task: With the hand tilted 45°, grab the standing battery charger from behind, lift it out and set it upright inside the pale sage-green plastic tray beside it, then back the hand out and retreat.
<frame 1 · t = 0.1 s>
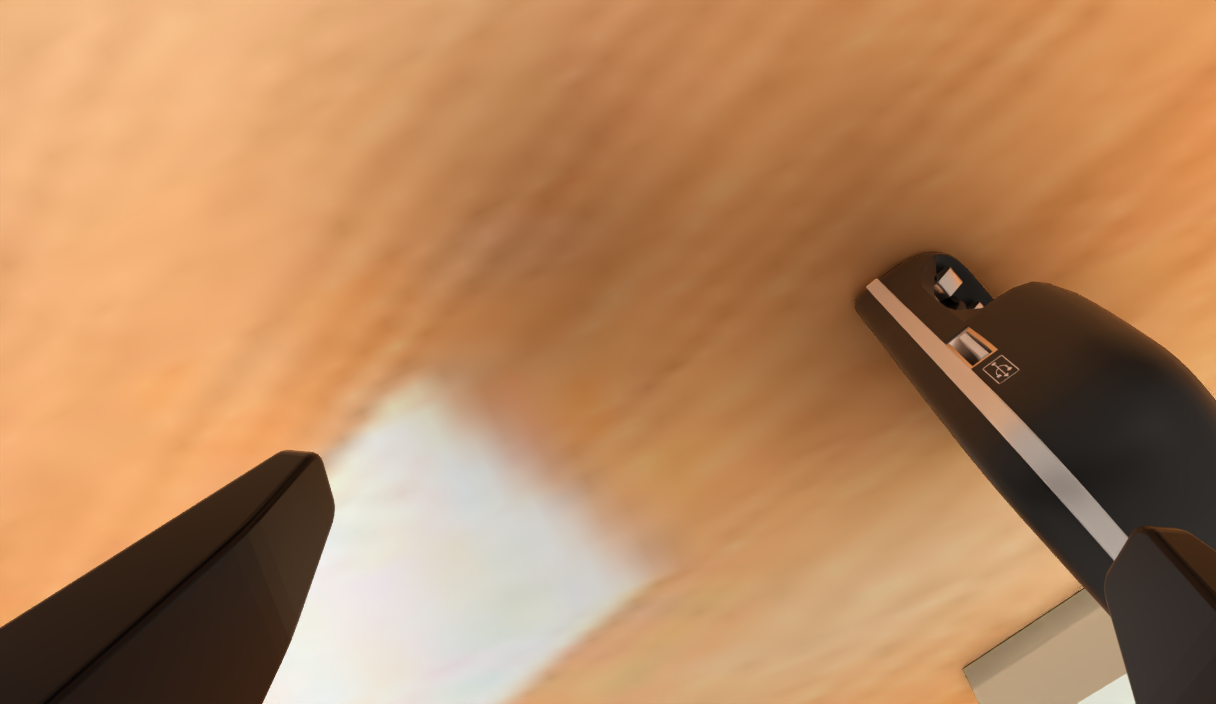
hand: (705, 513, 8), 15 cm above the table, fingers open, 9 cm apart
battery charger: (960, 332, 23), on the table
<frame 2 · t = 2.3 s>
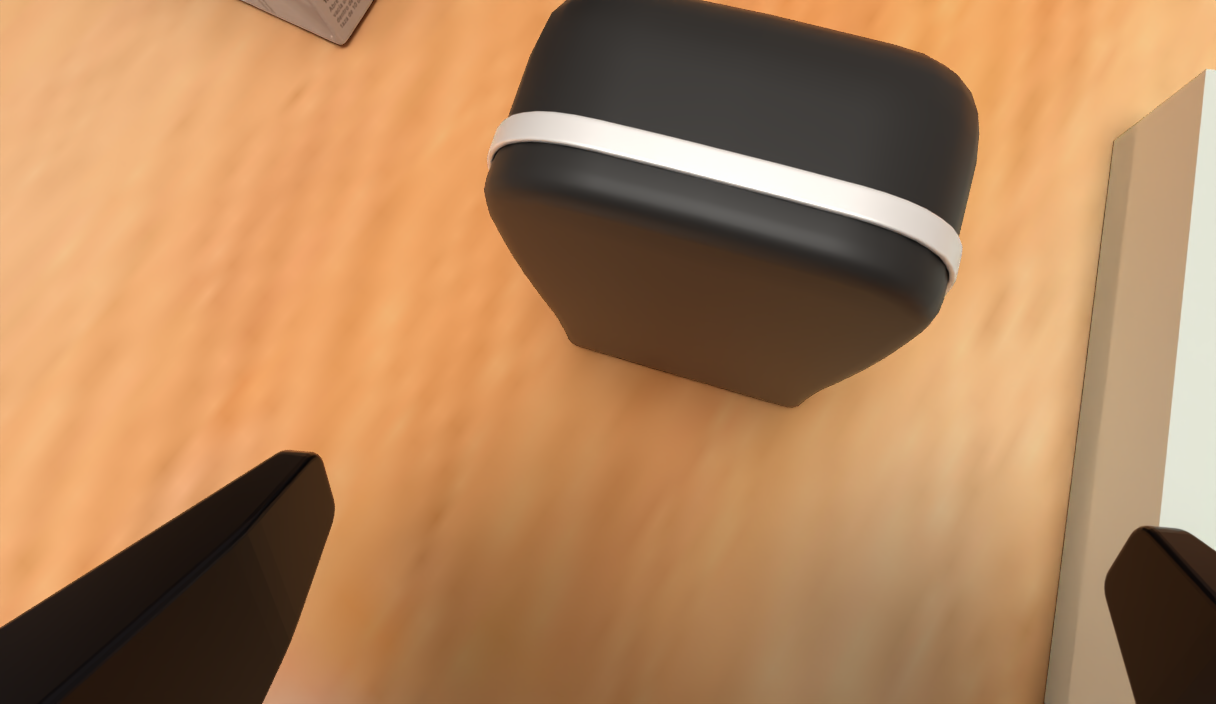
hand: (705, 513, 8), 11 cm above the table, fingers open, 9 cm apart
battery charger: (698, 315, 20), on the table
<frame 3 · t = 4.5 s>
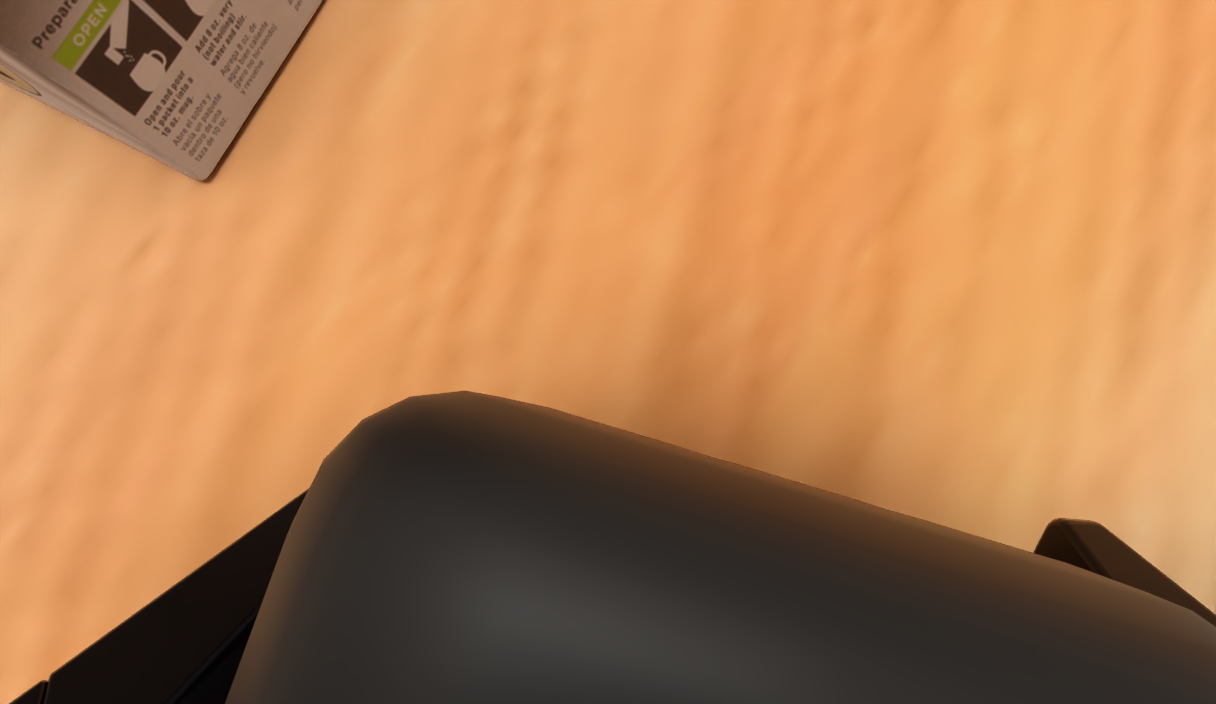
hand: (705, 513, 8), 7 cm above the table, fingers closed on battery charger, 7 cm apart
coffee box: (134, 11, 18), on the table
battery charger: (683, 574, 15), on the table, touching gripper
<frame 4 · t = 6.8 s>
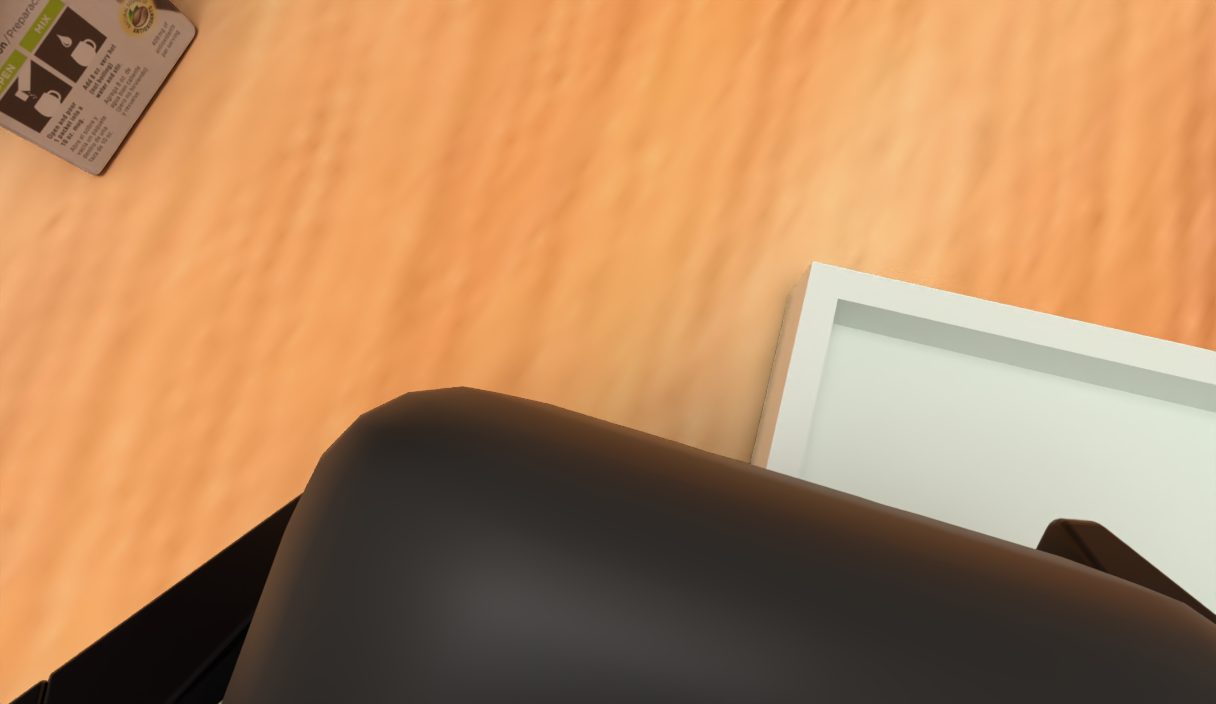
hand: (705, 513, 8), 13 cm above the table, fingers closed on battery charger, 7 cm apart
coffee box: (55, 50, 25), on the table
battery charger: (681, 571, 15), point 6 cm above the table, touching gripper
tray: (974, 621, 20), on the table
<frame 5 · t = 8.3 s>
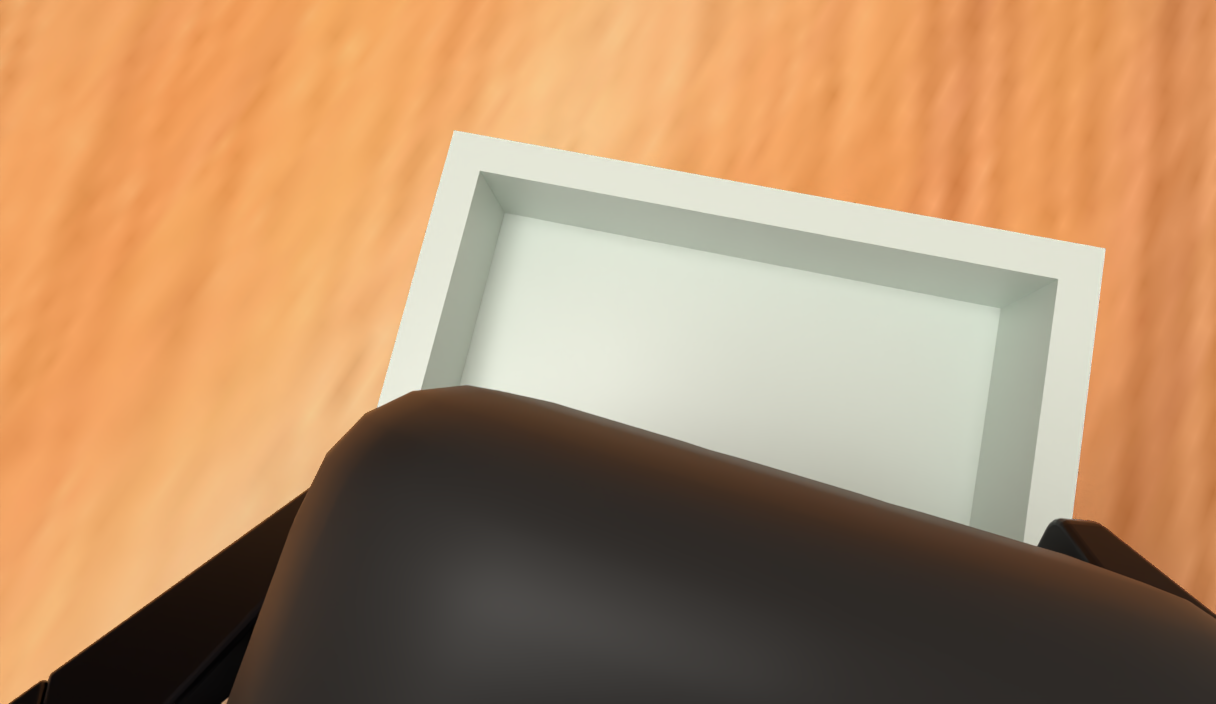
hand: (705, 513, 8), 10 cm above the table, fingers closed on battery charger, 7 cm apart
battery charger: (683, 571, 15), point 3 cm above the table, touching gripper
tray: (682, 547, 17), on the table
when the fingers open (9 cm above the table, at t = 9.3 s): battery charger drops 2 cm, resting on tray.
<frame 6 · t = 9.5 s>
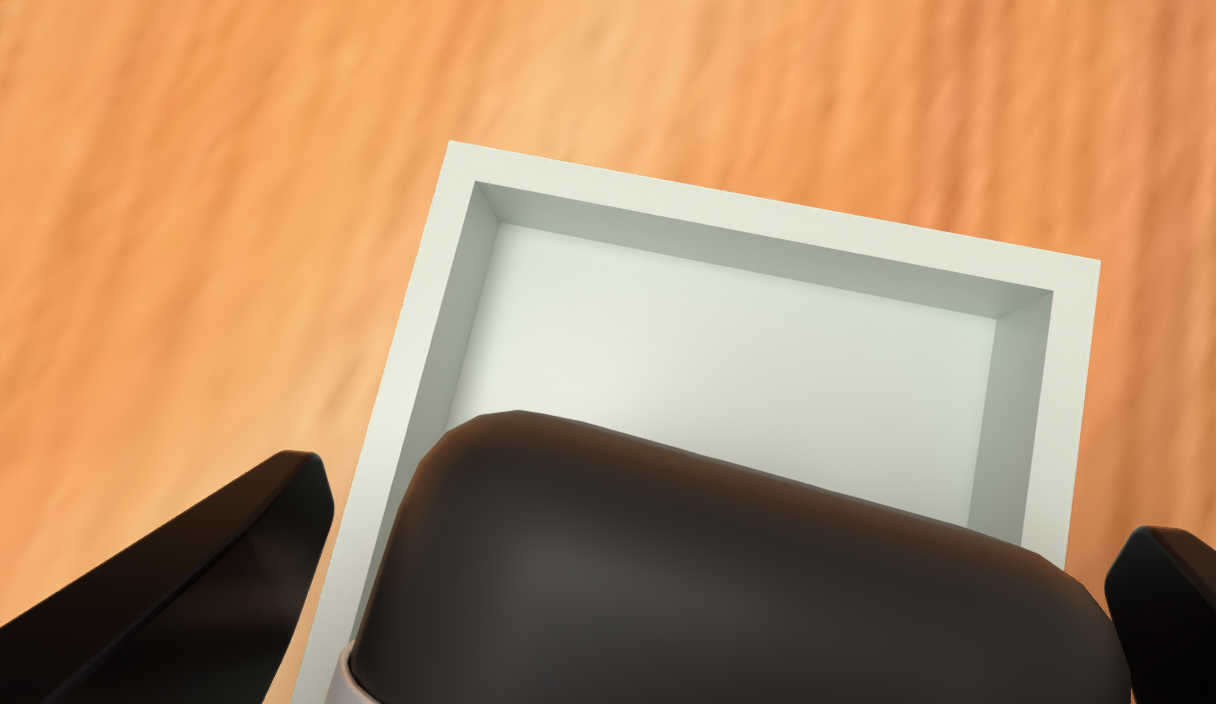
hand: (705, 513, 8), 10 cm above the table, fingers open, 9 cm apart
battery charger: (681, 567, 16), point 1 cm above the table, touching tray
tray: (677, 558, 17), on the table
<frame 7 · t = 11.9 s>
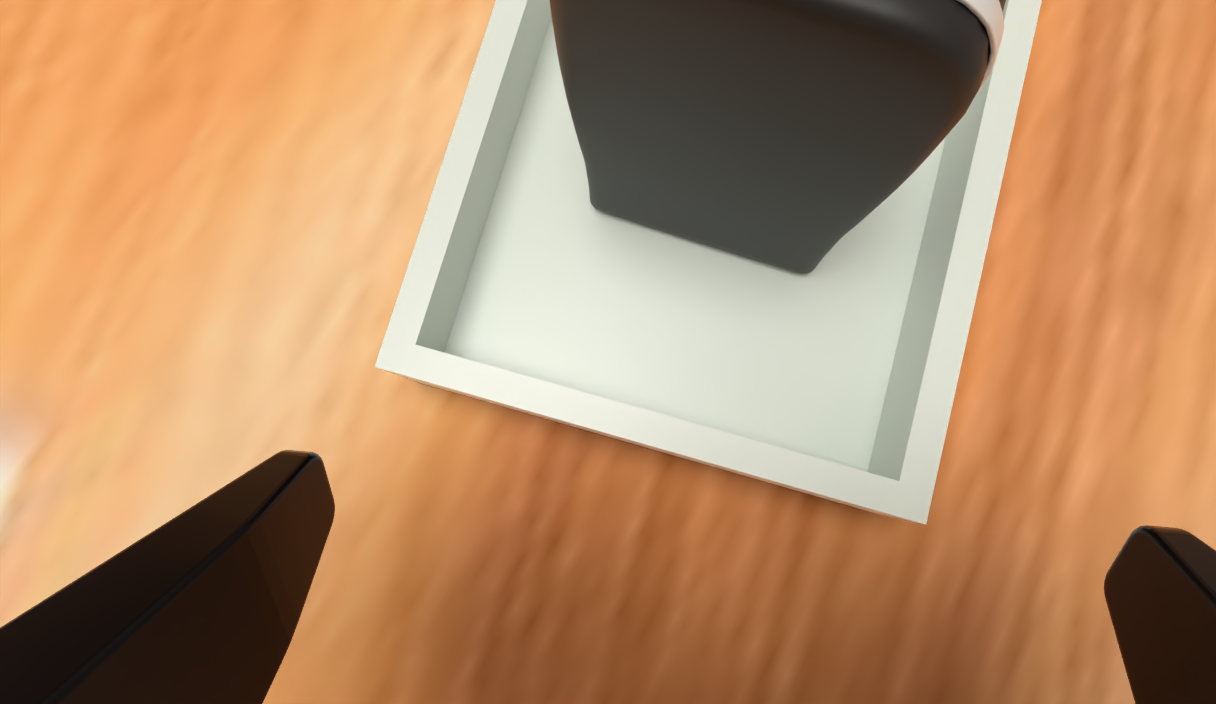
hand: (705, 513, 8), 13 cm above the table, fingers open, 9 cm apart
battery charger: (716, 187, 21), point 1 cm above the table, touching tray
tray: (711, 193, 22), on the table
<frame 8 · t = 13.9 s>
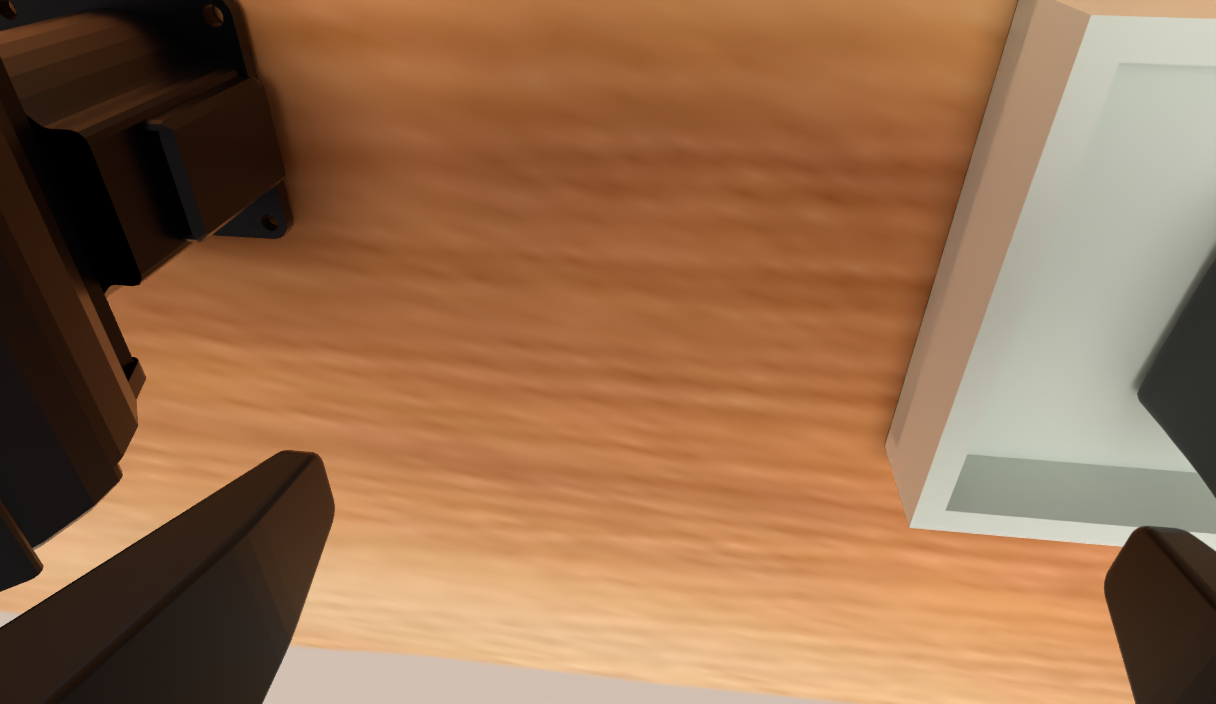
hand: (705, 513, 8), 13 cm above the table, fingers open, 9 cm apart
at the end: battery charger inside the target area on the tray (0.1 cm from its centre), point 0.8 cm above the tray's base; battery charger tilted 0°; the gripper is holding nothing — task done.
